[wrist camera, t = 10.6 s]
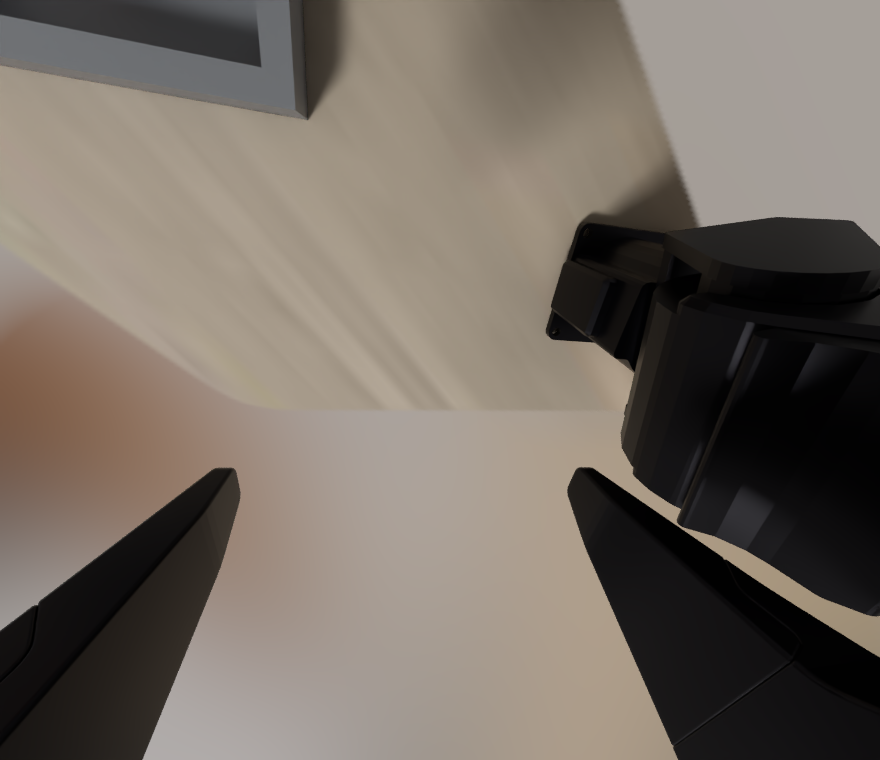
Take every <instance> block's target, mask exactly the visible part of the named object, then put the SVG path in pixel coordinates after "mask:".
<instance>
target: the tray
mask: <svg viewBox="0 0 880 760" xmlns="http://www.w3.org/2000/svg"><path fill="white" fill-rule="evenodd" d="M0 65H2V66H8V67H14V68H19V69H25V70H30V71H36V72H42V73H47V74H53V75H58V76H64V77H70V78H75V79H81V80H87V81H92V82H98V83H103V84H109V85H115V86H120V87H126V88H131V89H137V90H143V91H148V92H154V93H159V94H165V95H171V96H176V97H182V98H187V99H193V100H199V101H204V102H210V103H215V104H221V105H227V106H232V107H238V108H244V109H249V110H255V111H260V112H266V113H272V114H277V115H283V116H288V117H294V118H300V119H305V120H308V108H307V86H306V64H305V41H304V19H303V0H0Z"/></svg>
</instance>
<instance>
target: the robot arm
mask: <svg viewBox="0 0 880 760" xmlns="http://www.w3.org/2000/svg"><path fill="white" fill-rule="evenodd" d="M586 229H589V233H588V235H587V236H586V237H584V236H583V235H584V232H585V230H586ZM551 308H552V311H551V314H550V318H549V321H548V324H547V328H546V334H547V335H548V336H549V337H550V338H551V339H553V340H565V341H579V342H594V343H596V344H597V345H599V346H600V347H601V348H603V349H604V350H605V351H606V352H608V353H609V354H610V355H612V356H613V357H614V358H616V359H617V360H618V361H620V362H621V363H622V364H624V365H625V366H626V367H627V368H629V369H630V370H631V371H633V372H634V373H635V374H634V378H633V382H632V387H631V391H630V395H629V400H628V404H627V405H626V408H625V412H624V415H625V417H624V421H623V426H622V430H621V444H622V449H623V451H624V453H625V454H626V456H627V458H628V460H629V462H630V463H631V465H632V466H633V467H634V468H633V475H634V476H635V477H636V478H637V479H638V480H639V481H640V482H641V483H642V484H643V485H644V486H645V487H647V488H648V489H649V490H650V491H652V492H653V493H655V494H656V495H658V496H659V497H661V498H662V499H664V500H665V501H667V502H669V503H670V504H672V505H674V506H676V507H678V508H680V509H681V511H680V513H679V516H678V518H677V523H678V524H679V525H680V526H682V527H684V528H688V529H691V530H695V531H698V532H701V533H705V534H708V535H712V536H715V537H717V538H720V539H722V540H724V541H726V542H728V543H730V544H733V545H735V546H737V547H739V548H742V549H744V550H746V551H748V552H749V553H751V554H753V555H754V556H756V557H758V558H760V559H761V560H763V561H765V562H766V563H768V564H770V565H771V566H773V567H774V568H776V569H777V570H779V571H780V572H782V573H783V574H785V575H786V576H788V577H790V578H791V579H793V580H794V581H796V582H797V583H799V584H800V585H802V586H803V587H805V588H806V589H808V590H810V591H811V592H813V593H814V594H816V595H818V596H819V597H821V598H824V599H826V600H829V601H831V602H834V603H837V604H839V605H842V606H845V607H848V608H850V609H853V610H855V611H858V612H861V613H863V614H866V615H870V616H880V246H879V245H878V244H877V243H876V242H875V241H874V240H873V239H871V238H870V237H869V236H868V235H867V234H866V233H865V232H864V231H863V230H862V229H861V228H860V227H859V226H858V225H857V224H856V223H854V222H853V221H848V220H831V219H807V218H786V217H775V218H766V219H759V220H752V221H744V222H737V223H730V224H722V225H716V226H707V227H700V228H693V229H685V230H678V231H671V232H666V233H659V232H652V231H645V230H638V229H631V228H624V227H617V226H611V225H604V224H597V223H590V222H584V223H582V224H580V225H579V227H578V228H577V230H576V232H575V236H574V239H573V242H572V245H571V249H570V252H569V255H568V259H567V261H566V262H565V263H564V264H563V267H562V270H561V274H560V277H559V280H558V284H557V287H556V290H555V294H554V297H553V300H552V304H551ZM555 328H558V330H557V332H555V333H552V332H553V330H554V329H555ZM567 491H568V492H567V493H568V497H569V500H570V503H571V507H572V510H573V513H574V516H575V518H576V522H577V525H578V528H579V531H580V534H581V537H582V539H583V542H584V545H585V548H586V550H587V552H588V555H589V557H590V560H591V562H592V564H593V566H594V568H595V571H596V573H597V575H598V578H599V580H600V582H601V584H602V587H603V589H604V591H605V594H606V596H607V598H608V601H609V602H610V605H611V607H612V609H613V612H614V614H615V616H616V619H617V621H618V623H619V626H620V628H621V630H622V632H623V634H624V637H625V639H626V641H627V644H628V646H629V648H630V651H631V653H632V655H633V657H634V660H635V662H636V664H637V666H638V668H639V671H640V673H641V676H642V678H643V680H644V682H645V685H646V687H647V689H648V692H649V694H650V696H651V698H652V701H653V703H654V705H655V707H656V710H657V712H658V714H659V717H660V719H661V721H662V723H663V726H664V728H665V730H666V732H667V735H668V737H669V739H670V741H671V744H672V745H673V746H674V747H673V749H674V751H675V753H676V755H677V758H678V760H880V657H878V656H876V655H875V654H873V653H871V652H870V651H868V650H866V649H865V648H863V647H861V646H860V645H858V644H857V643H855V642H853V641H852V640H850V639H848V638H847V637H845V636H844V635H842V634H841V633H839V632H837V631H836V630H834V629H832V628H831V627H829V626H828V625H826V624H824V623H823V622H821V621H820V620H818V619H816V618H815V617H813V616H812V615H810V614H808V613H807V612H805V611H803V610H802V609H800V608H799V607H797V606H795V605H794V604H792V603H791V602H789V601H788V600H786V599H785V598H783V597H781V596H780V595H778V594H776V593H775V592H774V591H772V590H770V589H769V588H767V587H766V586H764V585H763V584H761V583H759V582H758V581H757V580H755V579H754V578H752V577H751V576H749V575H748V574H746V573H745V572H743V571H742V570H740V569H739V568H738V567H736V566H735V565H733V564H732V563H730V562H729V561H727V560H724V559H723V557H721V556H720V555H719V554H717V553H716V552H714V551H713V550H711V549H710V548H708V547H707V546H705V545H704V544H703V543H701V542H699V541H698V540H697V539H695V538H694V537H692V536H691V535H689V534H688V533H687V532H685V531H684V530H682V529H681V528H679V527H678V526H676V525H675V524H673V523H672V522H670V521H669V520H667V519H666V518H665V517H663V516H662V515H660V514H659V513H657V512H656V511H654V510H653V509H652V508H650V507H649V506H647V505H646V504H644V503H643V502H641V501H640V500H639V499H637V498H636V497H634V496H633V495H631V494H630V493H628V492H627V491H625V490H624V489H622V488H621V487H619V486H618V485H617V484H615V483H614V482H612V481H611V480H609V479H608V478H606V477H605V476H604V475H602V474H601V473H599V472H598V471H596V470H595V469H593V468H590V467H584V468H583V467H580V468H577V469H576V471H575V473H574V475H573V477H572V479H571V481H570V484H569V486H568V490H567ZM239 501H240V488H239V483H238V478H237V473H236V470H235V469H234V468H215V469H213V470H211V471H210V472H209V473H207V474H206V475H205V476H204V477H202V478H201V479H199V480H198V481H197V482H196V483H194V484H193V485H192V486H190V487H189V488H188V489H186V490H185V491H184V492H182V493H181V494H180V495H178V496H177V497H176V498H175V499H174V500H172V501H171V502H169V503H168V504H167V505H166V506H164V507H163V508H161V509H160V510H159V511H157V512H156V513H155V514H153V515H152V516H151V517H150V518H148V519H147V520H146V521H144V522H143V523H142V524H140V525H139V526H138V527H137V528H135V529H134V530H132V531H131V532H130V533H128V534H127V535H126V536H125V537H123V538H122V539H121V540H119V541H118V542H117V543H115V544H114V545H113V546H111V547H110V548H109V549H107V550H106V551H105V552H103V553H102V554H101V555H100V556H98V557H97V558H96V559H94V560H93V561H92V562H90V563H89V564H88V565H86V566H85V567H84V568H82V569H81V570H80V571H79V572H77V573H76V574H75V575H73V576H72V577H71V578H69V579H68V580H67V581H66V582H64V583H63V584H61V585H60V586H59V587H57V588H56V589H55V590H54V591H52V592H51V593H50V594H48V595H47V596H46V597H44V598H43V599H42V600H41V601H40V602H39V603H38V605H34V606H32V607H31V608H30V609H28V610H27V611H26V612H24V613H23V614H22V615H20V616H19V617H18V618H16V619H15V620H14V621H12V622H11V623H10V624H9V625H7V626H6V627H5V628H3V629H2V630H1V631H0V760H142V759H143V757H144V754H145V752H146V749H147V747H148V744H149V742H150V740H151V737H152V734H153V732H154V730H155V727H156V725H157V722H158V720H159V717H160V715H161V712H162V710H163V708H164V705H165V703H166V700H167V698H168V695H169V693H170V691H171V688H172V686H173V683H174V681H175V678H176V676H177V673H178V671H179V668H180V666H181V664H182V661H183V658H184V656H185V654H186V651H187V649H188V646H189V644H190V641H191V639H192V636H193V634H194V632H195V629H196V627H197V624H198V622H199V619H200V617H201V614H202V612H203V610H204V607H205V605H206V602H207V600H208V597H209V595H210V592H211V590H212V587H213V585H214V583H215V580H216V578H217V575H218V572H219V570H220V567H221V564H222V561H223V558H224V554H225V551H226V548H227V544H228V540H229V537H230V533H231V530H232V526H233V523H234V519H235V516H236V512H237V509H238V505H239Z"/></svg>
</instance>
